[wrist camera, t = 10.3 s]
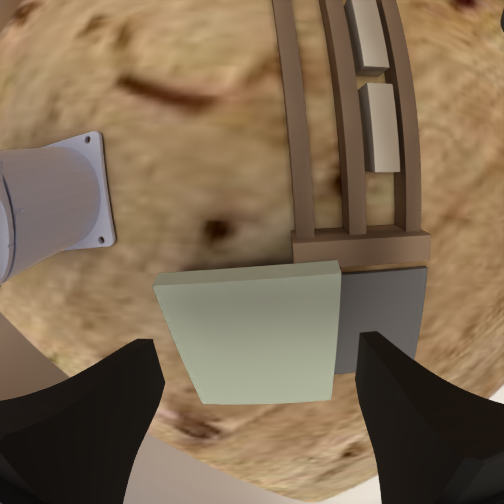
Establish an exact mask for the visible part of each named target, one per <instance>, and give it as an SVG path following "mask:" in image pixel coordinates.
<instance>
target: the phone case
mask: <svg viewBox="0 0 504 504" xmlns="http://www.w3.org/2000/svg"><path fill="white" fill-rule="evenodd" d="M501 27H502V29H503V32H504V10H503V14H502V17H501Z"/></svg>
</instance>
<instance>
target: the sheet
mask: <svg viewBox="0 0 504 504" xmlns="http://www.w3.org/2000/svg"><path fill="white" fill-rule="evenodd" d="M152 286H153V289H154V292H155V294H156V297H157V300H158V302H159V305H160V307H161V310H162V313H163V315H164V318H165V320H166V323H167V325H168V328H169V330H170V332H171V335H172V337H173V340H174V342H175V344H176V347H177V349H178V351H179V354H180V356H181V358H182V360H183V363H184V365H185V367H186V369H187V372H188V374H189V376H190V378H191V380H192V383H193V385H194V387H195V389H196V391H197V393H198V395H199V397H200V399H201V401H202V404H278V403H296V402H311V401H322V400H331V395H332V387H333V378H334V369H335V359H336V348H337V336H338V324H339V309H340V292H341V270H340V267H339V264H338V260H333V261H320V262H308V263H295V264H282V265H269V266H256V267H242V268H228V269H213V270H199V271H184V272H168V273H158V275H157V277H156V279H155V281H154V283H153V285H152Z"/></svg>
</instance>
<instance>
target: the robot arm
mask: <svg viewBox="0 0 504 504" xmlns="http://www.w3.org/2000/svg"><path fill="white" fill-rule="evenodd" d="M88 137H90V142H89V143H88V141H87V140H88ZM101 237H103V238H104V240H105V241H104V242H103V241H102V240H101ZM115 241H116V237H115V232H114V226H113V220H112V214H111V208H110V202H109V195H108V188H107V180H106V172H105V163H104V154H103V143H102V135H101V133H100V132H98V131H92V132H88V133H85V134H81V135H78V136H75V137H71V138H68V139H65V140H62V141H59V142H56V143H53V144H50V145H47V146H44V147H41V148H27V149H13V150H2V151H0V286H1V284H2V283H4V282H6V281H8V280H9V279H11V278H13V277H15V276H16V275H18V274H20V273H22V272H23V271H25V270H27V269H29V268H31V267H32V266H34V265H36V264H38V263H40V262H42V261H43V260H45V259H47V258H49V257H51V256H53V255H55V254H57V253H59V252H61V251H64V250H75V249H86V248H97V247H108V246H111V245H113V244H114V243H115ZM355 382H356V388H357V394H358V399H359V404H360V407H361V411H362V414H363V417H364V420H365V424H366V427H367V430H368V433H369V437H370V440H371V443H372V447H373V450H374V454H375V458H376V462H377V469H378V476H379V483H380V491H381V500H382V504H504V404H502V403H498V402H495V401H492V400H489V399H486V398H483V397H480V396H478V395H475V394H473V393H470V392H468V391H465V390H463V389H461V388H459V387H457V386H455V385H453V384H451V383H449V382H447V381H446V380H444V379H442V378H440V377H439V376H437V375H435V374H434V373H432V372H431V371H429V370H428V369H426V368H425V367H423V366H422V365H420V364H419V363H417V362H416V361H415V360H413V359H412V358H410V357H409V356H408V355H407V354H405V353H404V352H403V351H401V350H400V349H399V348H398V347H396V346H395V345H394V344H393V343H391V342H390V341H389V340H388V339H387V338H385V337H384V336H383V335H382V334H380V333H379V332H378V331H371V332H361V333H359V346H358V357H357V367H356V376H355ZM164 386H165V380H164V377H163V374H162V370H161V367H160V364H159V360H158V357H157V353H156V350H155V346H154V342H153V339H136V340H134V341H132V342H130V343H129V344H127V345H125V346H124V347H122V348H120V349H119V350H117V351H115V352H114V353H112V354H111V355H109V356H107V357H106V358H104V359H103V360H101V361H99V362H98V363H96V364H94V365H93V366H91V367H89V368H87V369H86V370H84V371H82V372H80V373H78V374H77V375H75V376H73V377H71V378H69V379H67V380H65V381H63V382H61V383H58V384H56V385H54V386H51V387H49V388H46V389H43V390H40V391H37V392H34V393H32V394H28V395H25V396H21V397H17V398H13V399H8V400H3V401H0V504H123V501H124V496H125V492H126V487H127V484H128V480H129V476H130V473H131V469H132V466H133V463H134V460H135V457H136V454H137V452H138V449H139V447H140V445H141V443H142V441H143V439H144V436H145V434H146V432H147V430H148V428H149V426H150V424H151V422H152V419H153V417H154V415H155V413H156V411H157V408H158V406H159V403H160V400H161V397H162V393H163V389H164Z"/></svg>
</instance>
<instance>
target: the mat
mask: <svg viewBox="0 0 504 504" xmlns="http://www.w3.org/2000/svg"><path fill="white" fill-rule="evenodd" d="M427 270H428V268H427V267H426V266H421V267H410V268H398V269H386V270H373V271H361V272H347V273H341V292H340V309H339V324H338V336H337V348H336V359H335V369H334V374H343V373H352V372H356V367H357V357H358V346H359V333H361V332H371V331H378V332H379V333H380V334H382V335H383V336H384V337H385V338H387V339H388V340H389V341H390V342H391V343H393V344H394V345H395V346H396V347H398V348H399V349H400V350H401V351H403V352H404V353H405V354H407V355H408V356H409V357H410V358H412V359H413V360H414V358H415V353H416V348H417V342H418V337H419V331H420V325H421V319H422V312H423V305H424V297H425V289H426V280H427Z"/></svg>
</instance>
